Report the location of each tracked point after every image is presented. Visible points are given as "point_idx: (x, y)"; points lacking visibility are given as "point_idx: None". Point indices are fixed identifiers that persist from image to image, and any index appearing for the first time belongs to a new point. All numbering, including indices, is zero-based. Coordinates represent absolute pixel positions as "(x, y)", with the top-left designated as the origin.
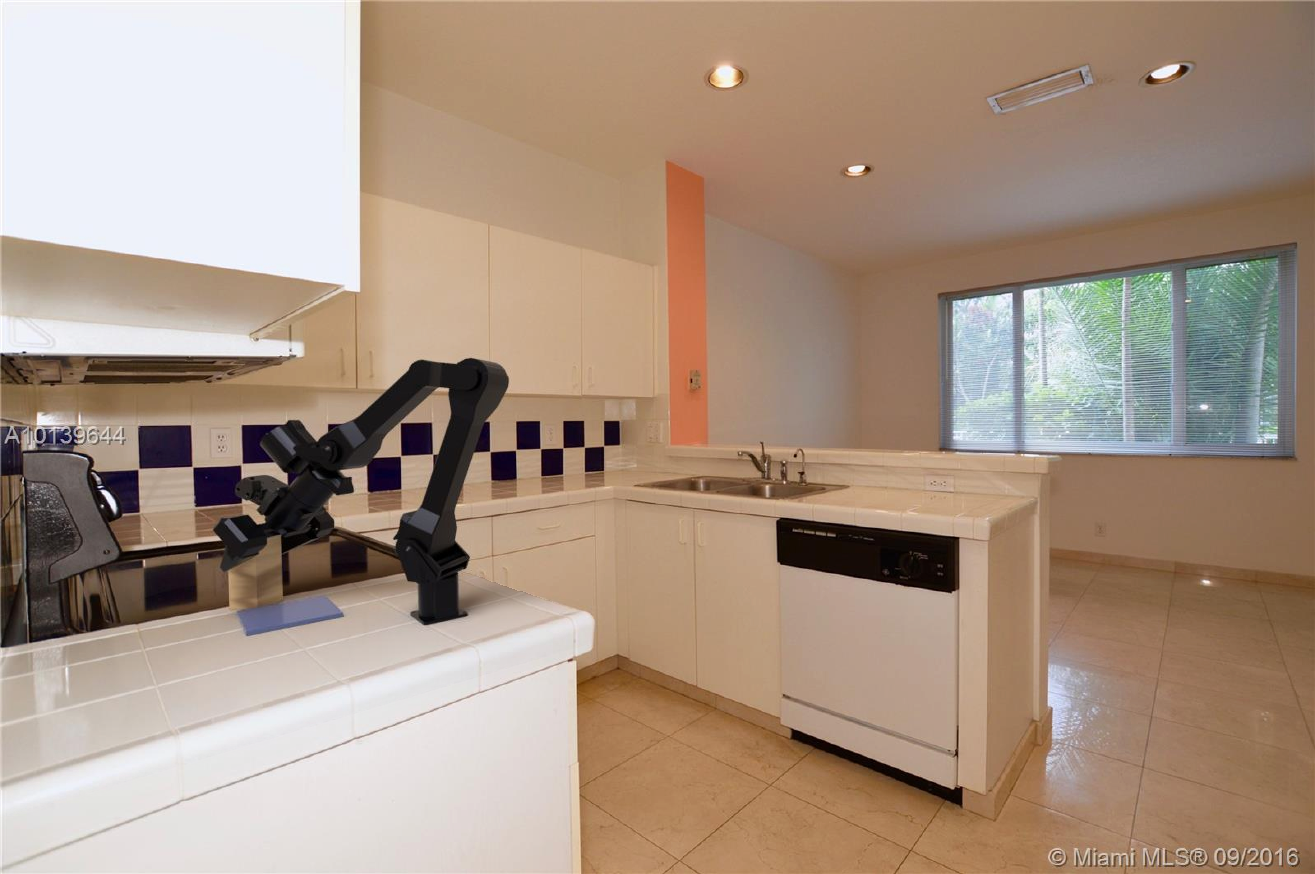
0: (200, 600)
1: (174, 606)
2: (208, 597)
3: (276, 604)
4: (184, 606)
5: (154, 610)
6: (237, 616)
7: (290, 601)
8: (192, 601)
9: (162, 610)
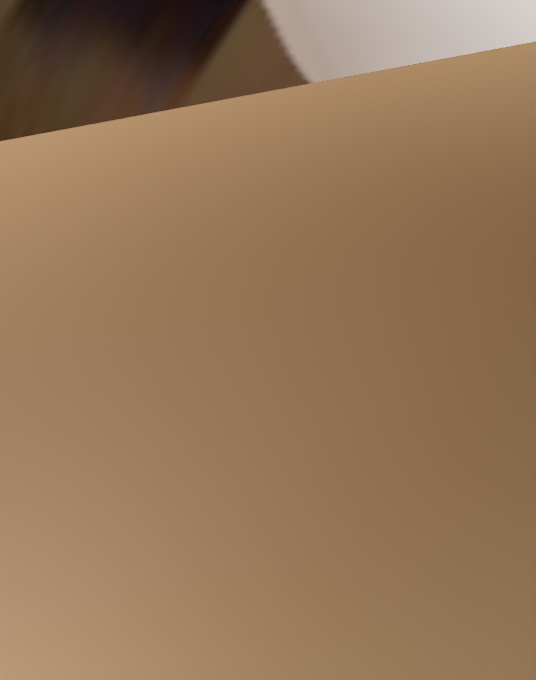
0: (214, 73)
1: (105, 59)
2: (260, 59)
3: None
4: (122, 102)
5: (31, 39)
6: None
7: None
8: (189, 55)
9: (44, 72)
